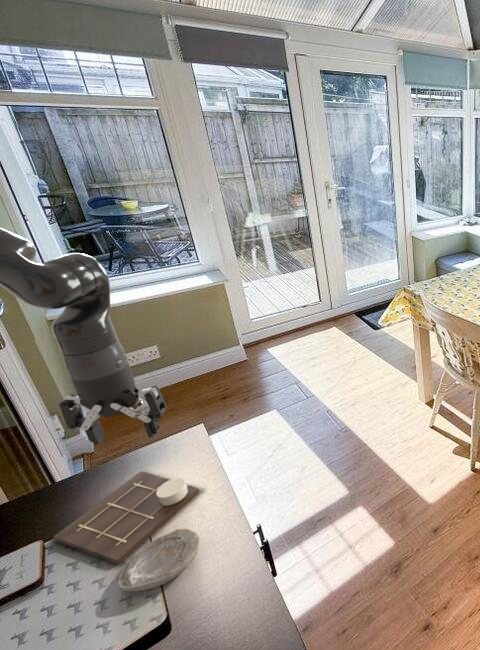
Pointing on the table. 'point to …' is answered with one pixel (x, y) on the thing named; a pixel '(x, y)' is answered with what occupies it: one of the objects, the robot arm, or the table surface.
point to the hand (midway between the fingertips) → (127, 437)
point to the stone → (172, 491)
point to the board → (122, 519)
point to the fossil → (159, 560)
